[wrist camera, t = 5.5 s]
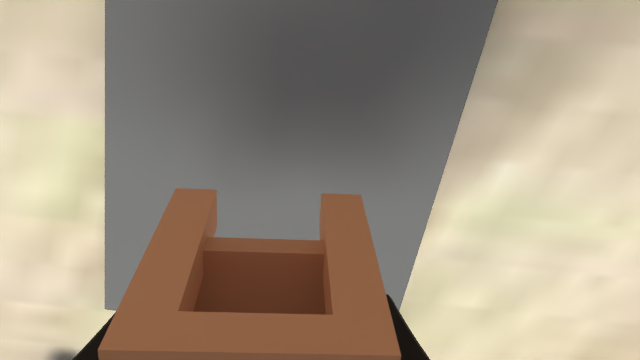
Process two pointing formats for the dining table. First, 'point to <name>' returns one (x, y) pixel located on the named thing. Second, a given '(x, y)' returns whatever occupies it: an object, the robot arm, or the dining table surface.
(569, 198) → the dining table surface
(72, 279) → the dining table surface
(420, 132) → the rubber mat
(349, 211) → the notched tan cube
